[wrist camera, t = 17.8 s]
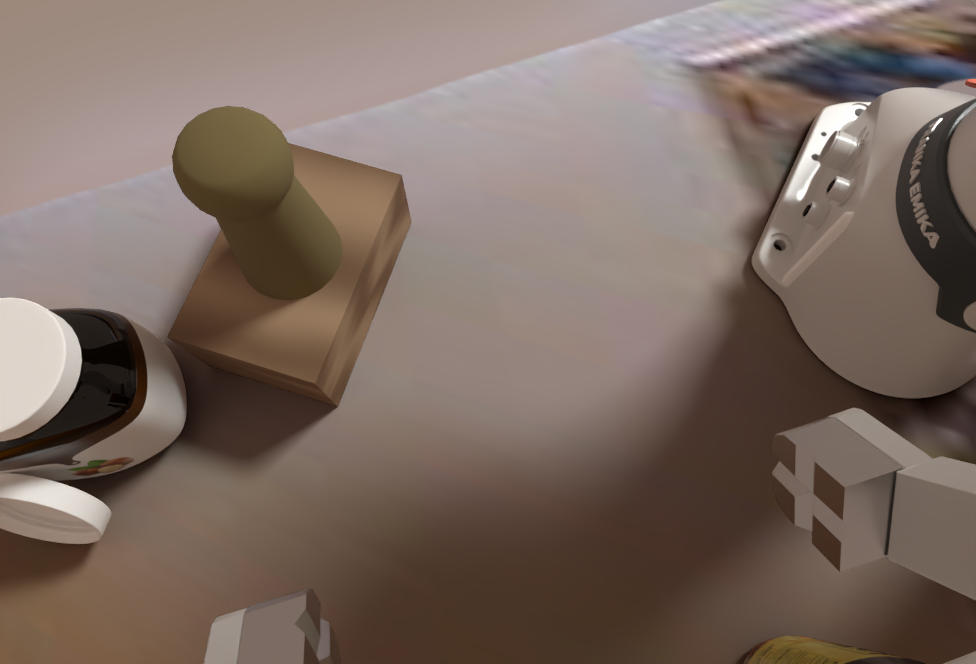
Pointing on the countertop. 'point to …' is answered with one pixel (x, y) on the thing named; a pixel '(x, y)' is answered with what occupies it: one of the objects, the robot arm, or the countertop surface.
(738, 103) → the countertop surface
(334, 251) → the cork
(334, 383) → the wooden block
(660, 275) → the countertop surface
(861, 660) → the sauce bottle
